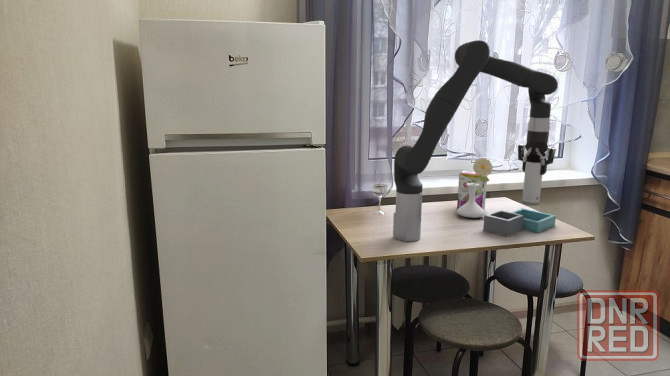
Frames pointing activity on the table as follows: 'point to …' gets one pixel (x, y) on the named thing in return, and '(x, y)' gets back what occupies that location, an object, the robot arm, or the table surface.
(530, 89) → the robot arm
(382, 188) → the wineglass
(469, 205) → the flower in vase
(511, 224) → the holder sleeve
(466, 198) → the candy bar box
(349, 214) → the table surface
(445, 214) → the table surface
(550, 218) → the tray
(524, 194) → the travel mug
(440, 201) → the table surface
